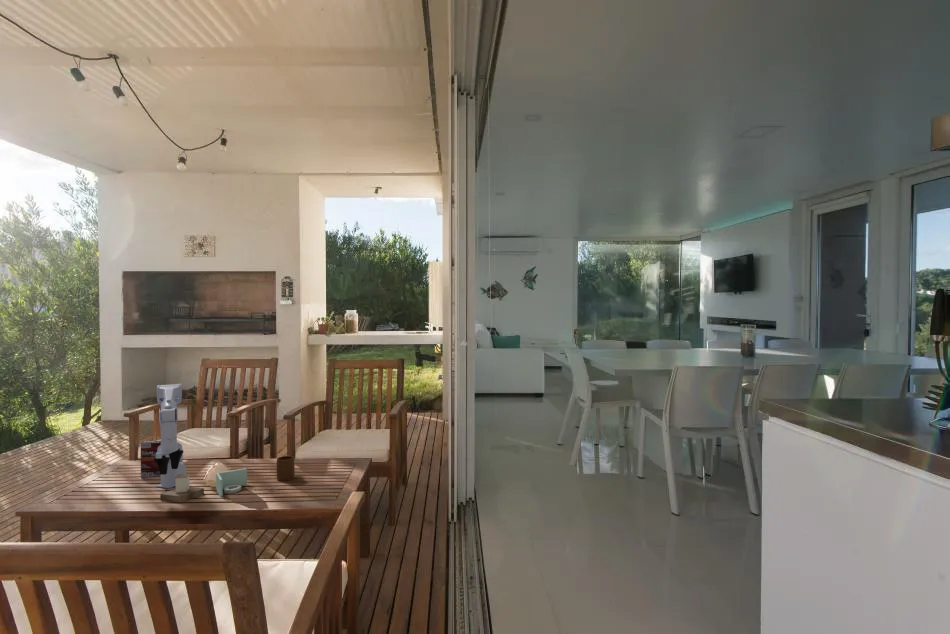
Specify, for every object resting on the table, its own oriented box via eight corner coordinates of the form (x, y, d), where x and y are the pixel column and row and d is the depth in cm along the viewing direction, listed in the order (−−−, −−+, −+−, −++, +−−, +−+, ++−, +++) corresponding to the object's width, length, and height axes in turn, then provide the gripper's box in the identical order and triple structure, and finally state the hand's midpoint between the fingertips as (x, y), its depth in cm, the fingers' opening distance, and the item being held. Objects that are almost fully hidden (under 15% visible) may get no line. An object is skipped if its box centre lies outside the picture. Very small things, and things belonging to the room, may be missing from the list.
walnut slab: (184, 492, 221) (183, 485, 221) (203, 495, 217) (203, 488, 217) (160, 501, 210) (160, 493, 210) (180, 504, 207) (180, 496, 207)
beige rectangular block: (178, 489, 215) (178, 474, 215) (189, 488, 216) (190, 473, 216) (174, 492, 211) (175, 477, 211) (186, 491, 212) (186, 476, 212)
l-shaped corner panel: (220, 498, 213) (220, 479, 213) (216, 490, 223) (216, 472, 223) (251, 492, 220) (251, 474, 220) (246, 485, 230) (246, 468, 230)
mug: (282, 473, 244) (282, 453, 244) (299, 473, 245) (299, 453, 245) (274, 481, 232) (274, 460, 232) (291, 481, 233) (291, 459, 233)
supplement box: (140, 477, 241) (139, 443, 242) (144, 474, 246) (144, 441, 246) (160, 476, 243) (160, 442, 243) (164, 473, 248) (164, 439, 248)
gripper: (169, 434, 221) (170, 466, 221) (147, 442, 207) (148, 477, 207) (186, 434, 221) (186, 466, 221) (165, 442, 207) (166, 476, 207)
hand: (169, 471), depth 214 cm, fingers open, 7 cm apart
